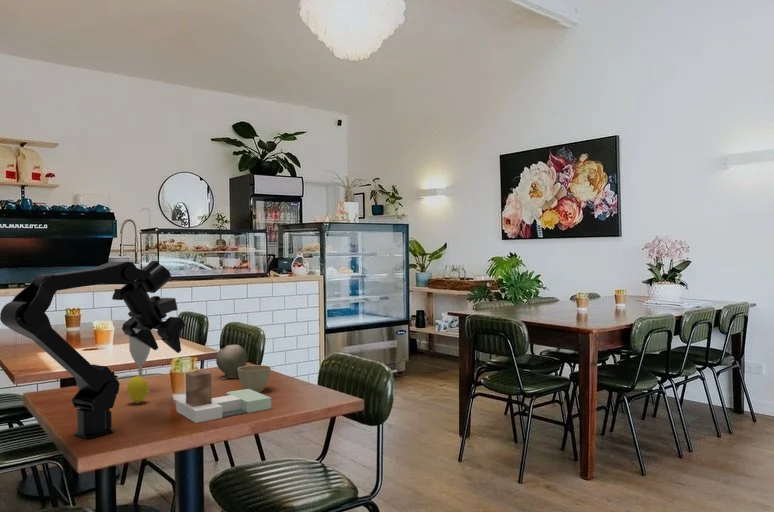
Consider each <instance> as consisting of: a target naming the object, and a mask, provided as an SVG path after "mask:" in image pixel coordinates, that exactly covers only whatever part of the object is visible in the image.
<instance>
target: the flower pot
mask: <svg viewBox="0 0 774 512" xmlns="http://www.w3.org/2000/svg"><path fill="white" fill-rule="evenodd" d="M271 370H272V367H271V366H269V365H264V364H263V365H262V364H253V365H252V364H251V365H245V366H243V367H239V368H238V375H239V378H238V379H239V381H240V383H241V386H242V387H243V390H244V389H251V390H253V391H256V392H258V393H261V392H263V391H264V389H265V388H266V386H267V384H268V382H269V378H270V375H271Z"/></svg>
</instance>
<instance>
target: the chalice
mask: <svg viewBox="0 0 774 512" xmlns="http://www.w3.org/2000/svg"><path fill="white" fill-rule="evenodd" d="M127 336H128V340H129V341H128V342H129V345H128V346H129V353H130V356H131V357H132V360H133V361H134V363H135V364H137V365H138V369H137V372H138V375H139V376H140V377H143V378H144V375H143V372H144V369H143V365H144V364H145V363H146V361H147V359H148V357H149V355H150V352H151V348H150V347H148V346H147V345H145V344H143V343H142V342H140V341H138V340H136V339H134V338H133V337H130V336H129V335H127ZM150 391H151V390H149V389H148V393H150Z"/></svg>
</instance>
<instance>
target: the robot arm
mask: <svg viewBox="0 0 774 512" xmlns="http://www.w3.org/2000/svg"><path fill="white" fill-rule="evenodd" d="M171 274H172V273H170V270H169V269H167V268H166V267H165V266H164V265H162V264H160V262H159V261H158V260H151V261H150V262H149V263H147V265H146V266H145V267H143V268H138V267H137V266H136V265H135V264H134V262H133V261H127V260H126V261H123V260H122V261H119V260H118V261H110V262H106V263H103V264H100V265H99V266H97V267H93V268H89V269H82V270H81V269H80V270H75V271H67V272H59V273H50V274H45V273H44V274H43V273H41V274H38V275H37V276H36V277H34V278H33V279H32V281H31V282H30V283H29V285H27V286H26V287H24V288H23V289H22V290H21V291H20V292H18V294H16V295H15V297H13V299H12V300H11V301H10V302H8V303H6V304H5V305H4V306H3V307H2V309H1V310H0V322H1V324H3V325H4V326H5V327H7V328H9V329H11V330H12V331H13V332H16V333H17V334H19V335H21V336H22V337H25V338H28V339H29V340H31V341H33V342H34V343H36V344H37V346H39V347H40V348H41V349H42V350H43V351H44V352H45V353H47V354H48V355H49V356H50V357H51V358H52V359H54V360H55V362H57V364H59V365H60V366H61V367H62V368H63V369H64V370H65V371H67V372H68V373H69V374H70V375H71V376H72V377H73V378H74V380H75V383H76V386H77V388H78V391H77V392H76V393H75V395H74V396H73V397H72V398H71V403H72V406H73V408H77V410H76V412H77V413H76V414H77V416H76V417H77V418H76V419H77V425H76V426H77V431H74V432H73V435H75V436H77V437H78V436H79V437H81V438H83V439H85V440H87V439H92V438H93V439H94V438H97V437H100V436H105V435H107V434H111V433H113V432H114V429H112V428H113V427H112V425H113V424H112V423H113V422H112V419H113V417H112V411H111V409H113V408H114V406H115V402H116V398H117V395H118V394H119V392H120V386H121V383H120V382H119V380H118V379H117V378H119V376H118V375H116V374H114V373H113V372H112V371H111V370H110V368H109V367H108V366H105V365H99V364H93V363H92V364H91V363H90V362H89V361H88V360H87V359H86V358H85V357H83V356H82V354H81V353H79V352H78V351H77V350H76V349H75V348H74V347H73V346H72V345H71V344H70V343H69V342H68V341H67V340H65V338H63V336H61V334H59V333H58V332H57V331H56V330H55V329H54V328H53V327H52V324H51V322H50V318H49V317H48V315H47V313H46V311H48V310H49V308H50V307H51V304H52V301H53V299H54V296H55V294H56V293H57V291H63V290H71V289H77V288H81V287H82V288H83V287H89V286H96V285H101V284H102V285H123V286H122V287H121V288H114V293H113V295H112V297H111V299H112V300H113V301H123V302H124V303H125V306H127V309H128V310H129V312H128V313H127V316H128V317H130V318H129V319H128V320H126V321H125V322H124V323H123V324H122V326H121V327H122V328H121V330H122V332H123V334H124V335H126V336H128V335H129V336H130V337H133V338H134V339H136V340H138V341H140V342H142V343H143V344H145V345H147V346H148V347H150V349H152V350H154V351H157V350H158V349H159V346H158V343H157V340H156V339H155V336H154V334H153V332H152V330H157V331H156V333H157V334H158V336H159V337H160V340H161V341H162V342H163V343H165V345H167V346H168V347H169V348H171V349H172V350H173V351H174V352H176V353H177V354H179V353H181V351H182V347H181V340H180V334H181V333H180V332H181V331H182V330H183V329H184V327H186V325H187V324H186V321H185V320H184V318H183V317H176V316H169V317H168V318H166V317H167V314H168V313H171V312H175V311H178V305H177V301H176V298H175V297H161V296H159V295H154V296H151V297H150V295H149V293H152V294H155V293H156V292H157V291H159V290H160V289H161V288H163V286H165V285H166V284H168V282H169V281H171V280H172V275H171ZM165 318H166V319H165ZM163 319H165V320H163ZM129 336H128V337H129Z"/></svg>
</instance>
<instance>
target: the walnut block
mask: <svg viewBox="0 0 774 512" xmlns="http://www.w3.org/2000/svg"><path fill="white" fill-rule="evenodd" d="M212 395H213V394H212V373H211V372H209V371H207V370H198V371H190V372H185V399H186V403H187V404H189V405H190V406H192V407H195V406H201V405H207V404H212V398H213V397H212Z"/></svg>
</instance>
